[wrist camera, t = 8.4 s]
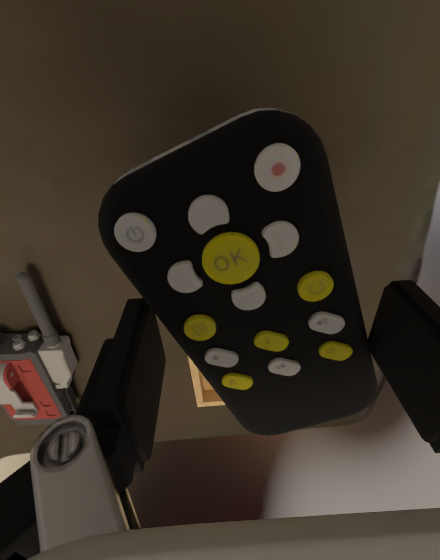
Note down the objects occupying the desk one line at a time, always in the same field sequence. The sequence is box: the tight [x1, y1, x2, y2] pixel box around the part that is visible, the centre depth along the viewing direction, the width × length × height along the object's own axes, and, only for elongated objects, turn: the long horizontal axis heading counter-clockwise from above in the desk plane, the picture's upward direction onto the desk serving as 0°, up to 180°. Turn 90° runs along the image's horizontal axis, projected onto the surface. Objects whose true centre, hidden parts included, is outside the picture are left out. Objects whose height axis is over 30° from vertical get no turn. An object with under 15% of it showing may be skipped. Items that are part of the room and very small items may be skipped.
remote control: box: [98, 108, 377, 435], centre depth 10 cm, size 6×13×2 cm, turn 24°
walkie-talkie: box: [0, 272, 78, 425], centre depth 28 cm, size 9×4×20 cm
